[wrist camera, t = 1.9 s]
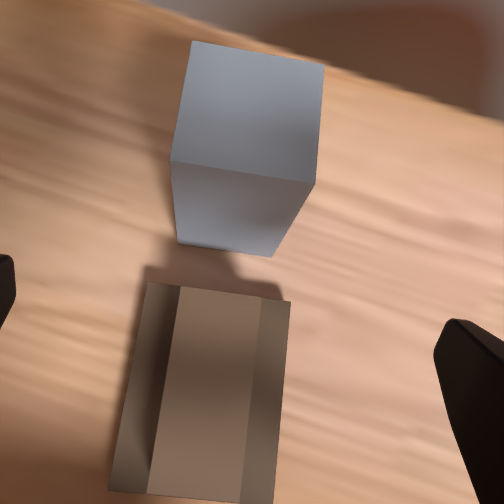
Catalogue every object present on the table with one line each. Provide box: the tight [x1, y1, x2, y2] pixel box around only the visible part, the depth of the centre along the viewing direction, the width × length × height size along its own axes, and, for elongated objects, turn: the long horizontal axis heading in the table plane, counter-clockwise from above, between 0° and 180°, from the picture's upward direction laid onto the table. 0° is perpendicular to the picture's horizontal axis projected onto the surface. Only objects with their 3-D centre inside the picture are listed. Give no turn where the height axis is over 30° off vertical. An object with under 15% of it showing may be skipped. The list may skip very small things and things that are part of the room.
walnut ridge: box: [108, 282, 291, 504], centre depth 20 cm, size 9×7×4 cm
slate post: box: [169, 40, 325, 258], centre depth 20 cm, size 5×5×9 cm
